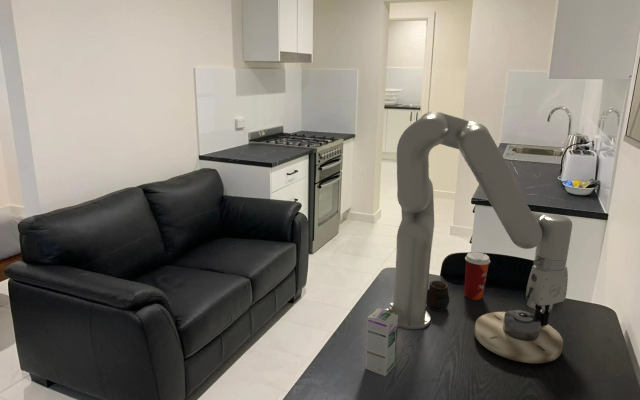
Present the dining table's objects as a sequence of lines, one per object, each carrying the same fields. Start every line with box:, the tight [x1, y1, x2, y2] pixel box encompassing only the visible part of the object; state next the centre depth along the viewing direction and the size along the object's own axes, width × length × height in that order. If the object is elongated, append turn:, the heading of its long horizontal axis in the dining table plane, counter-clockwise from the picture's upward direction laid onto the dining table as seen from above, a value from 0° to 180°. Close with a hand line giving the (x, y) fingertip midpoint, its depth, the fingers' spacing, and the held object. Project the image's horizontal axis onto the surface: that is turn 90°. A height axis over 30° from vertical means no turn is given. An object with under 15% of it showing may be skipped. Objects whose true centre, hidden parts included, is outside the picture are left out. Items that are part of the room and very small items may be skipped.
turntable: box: [474, 311, 564, 364], centre depth 129 cm, size 22×22×2 cm
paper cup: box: [464, 251, 491, 301], centre depth 155 cm, size 8×8×14 cm
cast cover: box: [503, 309, 541, 341], centre depth 129 cm, size 9×9×5 cm
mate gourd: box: [426, 279, 450, 312], centre depth 147 cm, size 7×8×10 cm
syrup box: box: [364, 307, 398, 377], centre depth 117 cm, size 6×6×14 cm
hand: (540, 323), depth 131 cm, fingers closed
